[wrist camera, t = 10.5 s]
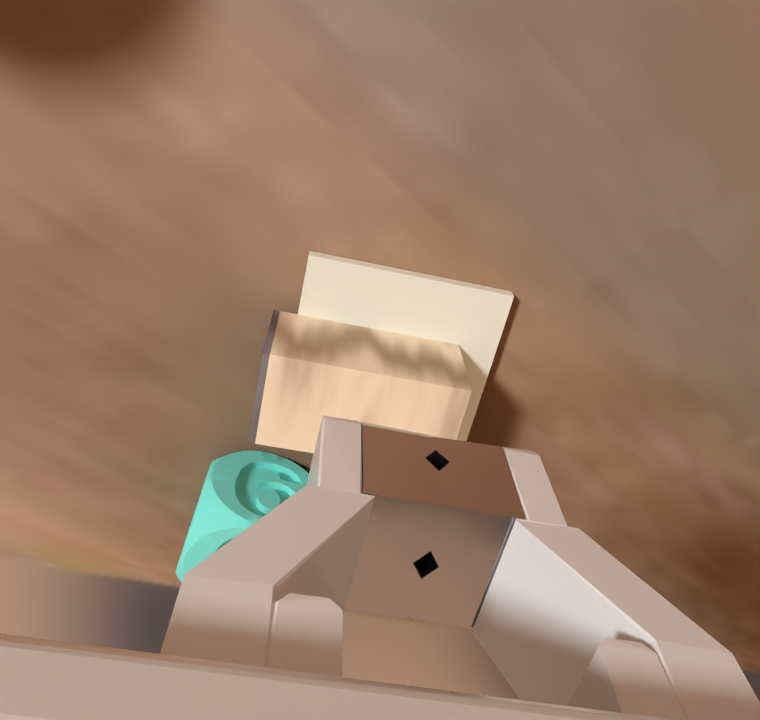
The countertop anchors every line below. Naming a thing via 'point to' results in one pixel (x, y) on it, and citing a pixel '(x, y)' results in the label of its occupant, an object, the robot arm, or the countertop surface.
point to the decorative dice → (237, 500)
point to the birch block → (354, 381)
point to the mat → (411, 310)
